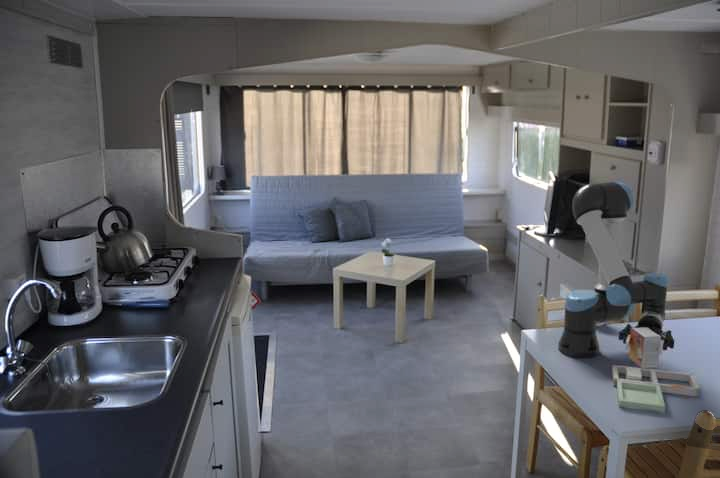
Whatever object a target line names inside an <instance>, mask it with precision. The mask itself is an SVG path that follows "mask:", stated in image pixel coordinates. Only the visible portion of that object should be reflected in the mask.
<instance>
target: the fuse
mask: <svg viewBox="0 0 720 478" xmlns="http://www.w3.org/2000/svg"><path fill="white" fill-rule="evenodd" d="M632 367H633V366H627V367H626V371H625V374H624V376H625V377H624V378H625V379H628V380H636V381H642V379H643V376H642V375H641V371H640V368H641V367H636V368H632Z"/></svg>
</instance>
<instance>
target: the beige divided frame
mask: <svg viewBox="0 0 720 478" xmlns="http://www.w3.org/2000/svg"><path fill="white" fill-rule="evenodd" d="M626 367H628V366H625V365H616V364H612V367H611V369H612V370H611V373H612V382H613V383H612V384H613V386H614V387H617V380H621V381H629V382H637V383H645V384H653V385H660V388H661V392H662V393H668V394H675V395H681V396H682V395H683V396H691V397H696V398H697V397H698V398H699V397H700V394H701V388H700V386H699V383H698V381H697V378H696V376H695V374H694V373H685V372H678V371H669V370H661V369H652V368H641V367H639V368H640V371H641V375H642V377H649V380H650V382H649V381H636V380H628V379H626V378H625V379H624V378H619V374H623V375H625V371H626ZM631 367H632V368H637V367H635V366H631ZM658 379H665V380H670V381H679V382H680V381H681V382H689V385H690V386H686V385H682V384H674V383H671V384H668V383H659V381H658Z"/></svg>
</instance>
